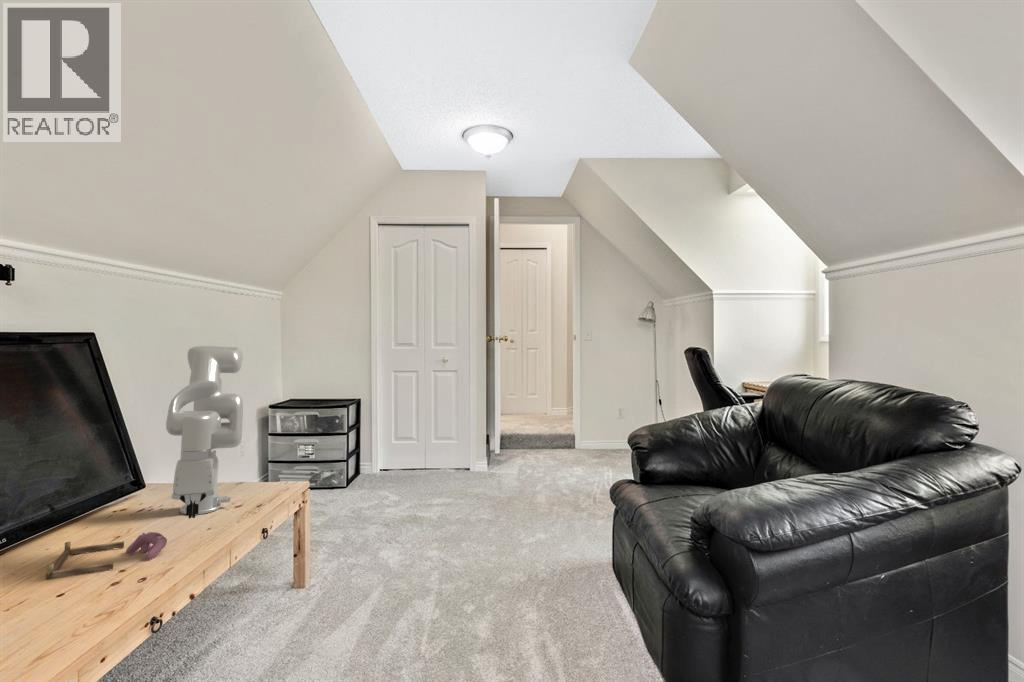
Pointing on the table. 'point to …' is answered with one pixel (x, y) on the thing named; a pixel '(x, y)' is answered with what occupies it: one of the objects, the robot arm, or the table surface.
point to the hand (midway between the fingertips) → (192, 516)
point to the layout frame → (56, 573)
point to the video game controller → (148, 544)
